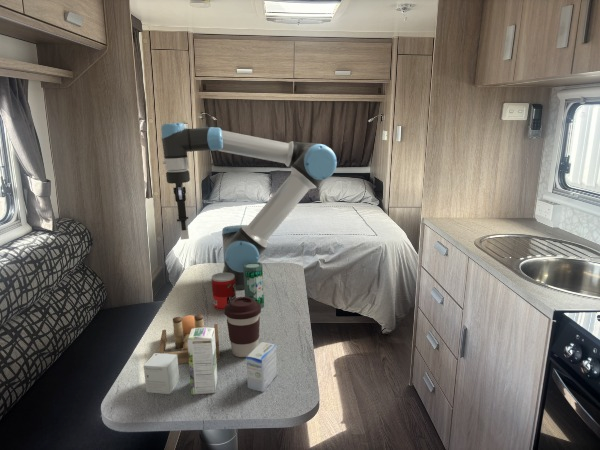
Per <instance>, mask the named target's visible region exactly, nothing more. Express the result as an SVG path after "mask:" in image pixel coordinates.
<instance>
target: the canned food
mask: <svg viewBox="0 0 600 450" xmlns="http://www.w3.org/2000/svg"><path fill="white" fill-rule="evenodd" d="M222 272H223V271H222ZM222 272H216V273H214V274H213V275H211V288H212V289H211V292H212V302H213V303H212V304H213V307H214V309H216V310H218V311H224V308H225V306H226V305H227V304H229V303H230V301H231V300H232V299H234V298H237V296H236V295H237V294H236V293H237V292H236V288H235V275H234V274H232V273H227V272H223V273H222Z"/></svg>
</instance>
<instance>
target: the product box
mask: <svg viewBox="0 0 600 450" xmlns="http://www.w3.org/2000/svg"><path fill="white" fill-rule="evenodd" d="M166 353H167V352H165V353H163V354H160V353H158V352H156V353H155V352H154V353H153V354H152V355H151V357H149V359H148V360H147V361H146V363H145V364H144V365H143V370H144V371H143V373H144V380H145V391H146V393H153V394H166V395H170V394H171V393H172V392H173V391H174V389H175V388H176V386H177V384H178V382H179V381H180V374H179V373H180V371H179V369H180V368H179V364H178V357H177V354H166Z"/></svg>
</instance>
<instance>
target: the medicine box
mask: <svg viewBox="0 0 600 450" xmlns="http://www.w3.org/2000/svg"><path fill="white" fill-rule="evenodd" d="M245 358H246V359H245V360H246V361H245V362H246V377H247V378H246V379H247V380H246V381H247V388H248V389H250V390H253V391H258V392H260V393H262V392H265V391H266V389H267V388H268V387H269V386H270V384H271V383H272V382H273V380H275V378H276V377H277V376H278V346H277V344H273V343H270V342H264V341H260V343H258V346H257V347H256V348H255V349H254V350H253V351H252V352H251V353H250V354H249V355H248V356H247V357H245Z"/></svg>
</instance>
